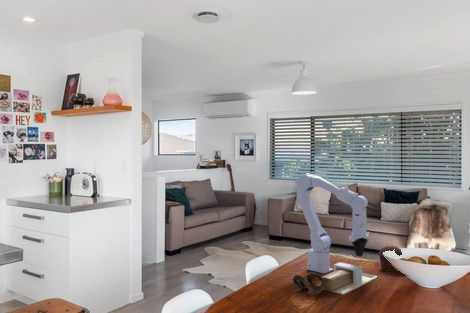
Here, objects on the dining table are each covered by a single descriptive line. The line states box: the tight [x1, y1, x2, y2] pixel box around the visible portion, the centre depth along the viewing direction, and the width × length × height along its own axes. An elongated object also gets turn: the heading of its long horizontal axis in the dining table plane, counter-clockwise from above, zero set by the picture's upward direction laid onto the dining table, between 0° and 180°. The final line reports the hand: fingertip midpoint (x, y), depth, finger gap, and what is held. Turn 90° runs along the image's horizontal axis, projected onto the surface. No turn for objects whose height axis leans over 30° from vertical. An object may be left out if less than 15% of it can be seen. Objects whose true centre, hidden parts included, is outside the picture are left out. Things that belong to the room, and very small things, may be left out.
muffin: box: [378, 245, 402, 272], centre depth 179 cm, size 12×11×10 cm
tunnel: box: [323, 262, 379, 296], centre depth 161 cm, size 12×28×7 cm, turn 135°
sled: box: [321, 269, 353, 292], centre depth 156 cm, size 5×19×4 cm, turn 135°
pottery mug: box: [292, 271, 324, 297], centre depth 150 cm, size 12×10×8 cm
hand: (359, 255), depth 168 cm, fingers closed
